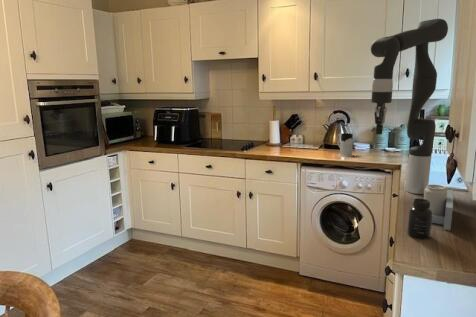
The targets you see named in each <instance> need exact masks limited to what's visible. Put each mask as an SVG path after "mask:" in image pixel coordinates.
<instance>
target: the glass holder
mask: <svg viewBox="0 0 476 317" xmlns="http://www.w3.org/2000/svg"><path fill="white" fill-rule="evenodd" d="M339 136H340V142H339ZM353 136H354V135H353V133H349V132H348V133H345V132H344V133H341V134H337V136H336V142H337V146H338V147H339V149H340V150H339V156H340V157H343V158H344V157H345V158H349V157H350V158H351V157H353V141H354V140H353Z"/></svg>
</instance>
